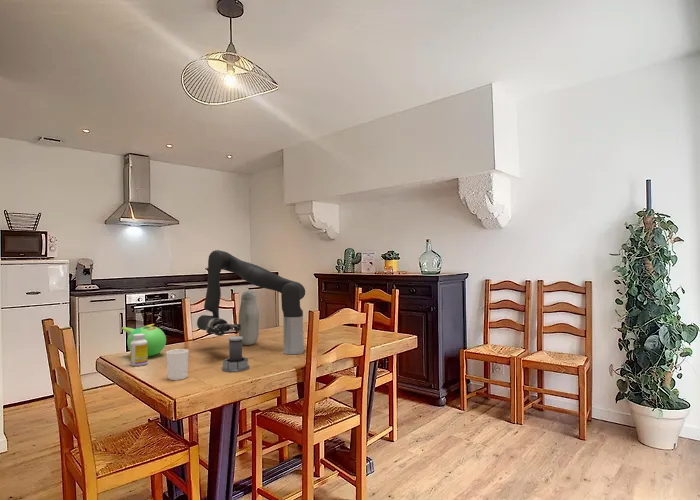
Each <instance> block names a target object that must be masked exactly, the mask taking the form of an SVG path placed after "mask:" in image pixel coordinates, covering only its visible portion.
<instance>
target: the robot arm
mask: <svg viewBox="0 0 700 500" xmlns="http://www.w3.org/2000/svg"><path fill="white" fill-rule="evenodd" d="M207 261H208V262H207V268H208V269H207V283H206V285H207V287H206V293H205V298H204V304H203V309H204V310H206V311H208V312H210V313H211V314H212V315H208V314H207V315H206V314H203V315H200V316H199V317H198V319H197V321H196V326H197V328H198V330H201V331H206V334H208V335H215V336H218V337H219V336H220V337H221V336H224V335H226V334H227V333H233V332H236V333H239V331H240V330H241V325H240V324H239V323H234V324H233V323H228V322H227V320H225V319H223V318H220V310H219V309H220V304H221V303H220V302H221V296H222V291H221V289H222V288H221V284H220V279H221V272H222V270H223V271H228V272H230V273H233V274H235V275H238V277H240V278H241V279H242V280H243V281H245V282H247V283H249V284H251V285H253V286H256V287H257V288H258V287H259V288H261V289H267V290H271V291H276V292H278V293H280V294H281V295H280V296H281V297H280V299H281V311H282V314H283V315H282V316H283V317H282V318H283V320H282V321H283V328H282V329H283V354H285V355H300V354H304V352H305V351H304V349H305V347H304V339H305V338H304V337H305V336H304V334H305V333H304V311H303V309H302V307H301V300H302V299H303V298H304V297H305V296H306V288H305V287H304V285H303V284H302V283H301V282H298V281H295V280H294V281H293V280H291V279H288V278H285V277H282V276H280V275H278V274H276V273H275V272H272V271H270V270H269V269H266V268H264V267H262V266H259V265H257V264H253V263H251V262H247V261H244V260H241V259H239V258H238V257H236V256H234V255H232V254H231V253H229V252H227V251H224V250H219V249H215V250H212V252H210V253H209V255H208V258H207Z"/></svg>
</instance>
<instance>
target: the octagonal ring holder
mask: <svg viewBox="0 0 700 500" xmlns="http://www.w3.org/2000/svg"><path fill="white" fill-rule="evenodd" d="M249 369H250V365H249V358H248V357H243V356H242V361H238V362H229V357H228V358H225V359H223V360H222V367H221V371H222V372H224V373H225V372H226V373H239V372H240V373H241V372H244V371H248V370H249Z"/></svg>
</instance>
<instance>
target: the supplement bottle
mask: <svg viewBox="0 0 700 500" xmlns="http://www.w3.org/2000/svg"><path fill="white" fill-rule="evenodd" d="M144 338H145V334H134V335H133V341H132V342H131V343H130V350H129V351H130V353H129V354H130V357H129V358H130V366H131V367H141V366H145V365H147V364H148V361H149V359H148V342H147V340H145V339H144Z"/></svg>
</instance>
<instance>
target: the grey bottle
mask: <svg viewBox="0 0 700 500" xmlns="http://www.w3.org/2000/svg"><path fill="white" fill-rule="evenodd" d="M256 297H257V296H256V294H255V292H254V291H252V290H246V291H244V292H242V294H241V298H240V305H239V310H238V311H239V312H238V324H240V325H241V330H240V331H239V332H238V336H241V337H243V339H242V345H245V346H250V345H255V343H256V342H257V341H258V340H259V328H260V327H259V323H260V321H259V320H260V319H259V318H260V317H259V316H260V315H259V309H258V308H259V307H258V303H257V298H256Z"/></svg>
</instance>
